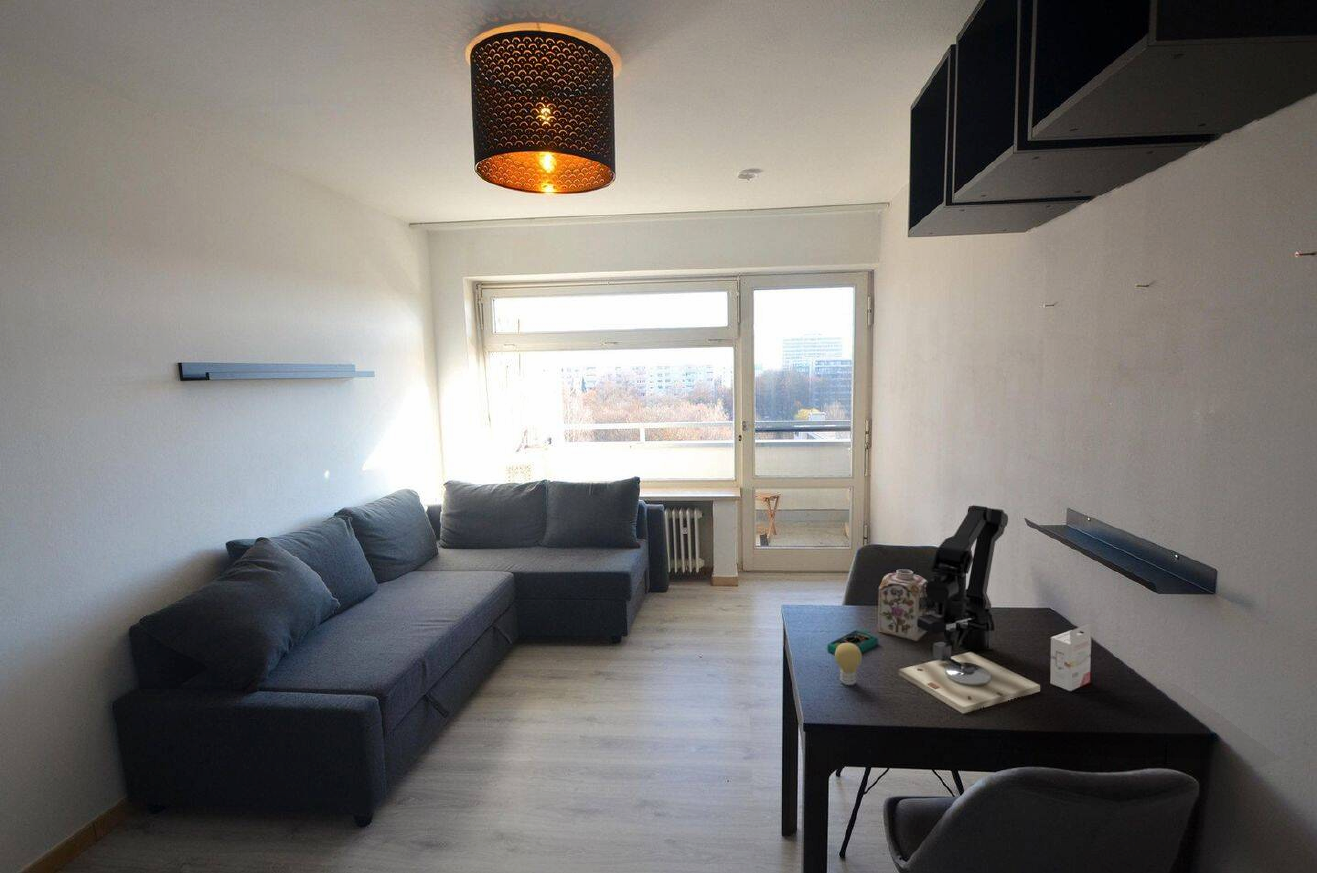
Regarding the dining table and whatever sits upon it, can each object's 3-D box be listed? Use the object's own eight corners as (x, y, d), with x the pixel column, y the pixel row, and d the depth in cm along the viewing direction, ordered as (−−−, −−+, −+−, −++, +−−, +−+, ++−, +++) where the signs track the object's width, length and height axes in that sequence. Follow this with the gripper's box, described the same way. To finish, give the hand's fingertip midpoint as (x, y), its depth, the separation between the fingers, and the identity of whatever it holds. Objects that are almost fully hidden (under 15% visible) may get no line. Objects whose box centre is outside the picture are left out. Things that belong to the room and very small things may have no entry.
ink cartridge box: (1069, 674, 157) (1071, 617, 156) (1090, 683, 153) (1092, 624, 151) (1048, 683, 153) (1050, 624, 152) (1069, 692, 149) (1071, 631, 148)
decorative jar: (877, 632, 186) (877, 572, 184) (892, 619, 195) (892, 563, 193) (918, 642, 178) (919, 580, 177) (932, 629, 187) (933, 570, 185)
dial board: (970, 657, 168) (970, 651, 168) (1040, 691, 150) (1040, 684, 149) (899, 675, 160) (899, 668, 159) (963, 713, 141) (963, 706, 141)
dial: (1000, 680, 152) (1000, 662, 151) (968, 689, 148) (968, 670, 148) (952, 656, 165) (952, 639, 165) (922, 663, 161) (922, 646, 161)
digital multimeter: (879, 645, 178) (879, 635, 178) (849, 661, 169) (849, 651, 169) (856, 637, 184) (856, 627, 184) (826, 653, 174) (826, 642, 174)
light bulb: (863, 690, 153) (863, 650, 152) (836, 688, 154) (836, 649, 153) (859, 677, 159) (859, 639, 158) (833, 676, 160) (833, 638, 159)
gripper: (955, 578, 172) (954, 633, 174) (901, 588, 165) (901, 646, 167) (990, 591, 162) (989, 649, 163) (934, 602, 155) (933, 663, 157)
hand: (952, 651), depth 163 cm, fingers closed
